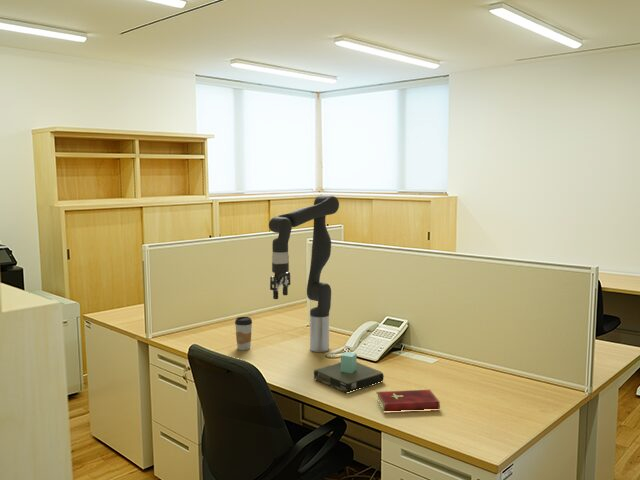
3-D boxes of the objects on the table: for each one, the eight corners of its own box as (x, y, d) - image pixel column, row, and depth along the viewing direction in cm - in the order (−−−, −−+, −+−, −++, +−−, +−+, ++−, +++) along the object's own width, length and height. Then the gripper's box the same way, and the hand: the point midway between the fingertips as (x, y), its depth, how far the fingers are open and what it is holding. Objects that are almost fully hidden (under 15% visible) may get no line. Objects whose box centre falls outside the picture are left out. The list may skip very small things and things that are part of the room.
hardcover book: (439, 412, 210) (440, 401, 210) (383, 414, 208) (383, 403, 208) (429, 399, 222) (430, 388, 222) (376, 401, 220) (376, 391, 219)
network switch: (308, 382, 240) (308, 370, 239) (345, 368, 257) (345, 357, 256) (351, 397, 224) (351, 385, 223) (388, 381, 241) (388, 370, 240)
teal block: (345, 367, 243) (345, 351, 242) (356, 369, 241) (356, 353, 240) (340, 371, 238) (340, 355, 238) (351, 373, 236) (352, 356, 236)
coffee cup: (232, 349, 281) (231, 319, 279) (240, 345, 288) (240, 315, 287) (247, 351, 278) (246, 321, 276) (255, 347, 285) (255, 317, 283)
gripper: (280, 258, 266) (281, 293, 268) (264, 263, 253) (265, 299, 255) (295, 260, 263) (295, 294, 265) (279, 264, 250) (279, 301, 252)
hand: (280, 297), depth 260 cm, fingers open, 8 cm apart
